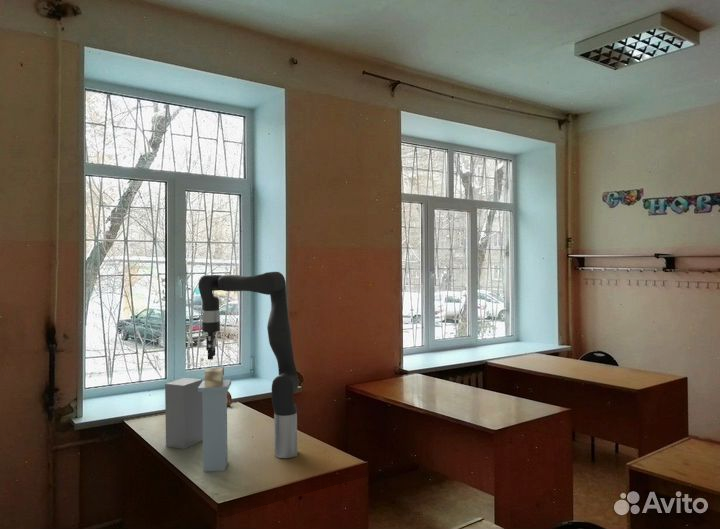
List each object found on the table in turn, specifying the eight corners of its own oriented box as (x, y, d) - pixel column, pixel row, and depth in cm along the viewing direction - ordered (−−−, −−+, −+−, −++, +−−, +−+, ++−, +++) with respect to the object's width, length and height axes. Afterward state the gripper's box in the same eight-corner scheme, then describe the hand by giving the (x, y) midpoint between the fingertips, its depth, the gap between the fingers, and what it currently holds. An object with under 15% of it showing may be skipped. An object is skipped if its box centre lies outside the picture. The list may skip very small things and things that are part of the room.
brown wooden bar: (227, 374, 221) (227, 360, 221) (221, 386, 199) (220, 371, 199) (212, 374, 220) (212, 360, 220) (204, 387, 199) (204, 371, 198)
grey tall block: (184, 437, 238) (184, 377, 238) (202, 439, 234) (202, 379, 234) (165, 446, 227) (165, 383, 226) (184, 449, 223) (183, 385, 223)
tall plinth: (232, 458, 212) (231, 379, 212) (228, 470, 200) (227, 386, 200) (204, 460, 211) (202, 380, 210) (199, 472, 199) (197, 387, 198)
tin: (232, 406, 286) (232, 391, 286) (227, 408, 284) (227, 392, 284) (217, 401, 297) (217, 386, 297) (212, 403, 294) (212, 387, 294)
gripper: (218, 322, 223) (218, 360, 224) (221, 318, 237) (222, 354, 238) (199, 322, 222) (200, 361, 222) (204, 319, 236) (204, 355, 236)
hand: (211, 357), depth 230 cm, fingers open, 8 cm apart
